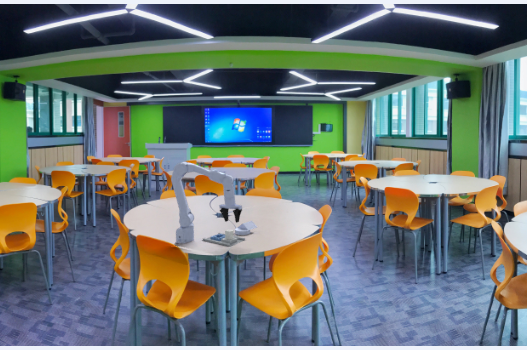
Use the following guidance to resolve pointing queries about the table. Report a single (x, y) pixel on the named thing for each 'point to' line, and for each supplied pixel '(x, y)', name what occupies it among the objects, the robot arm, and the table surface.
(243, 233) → the wedge on round base
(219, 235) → the grey tray
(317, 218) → the table surface
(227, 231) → the plug
